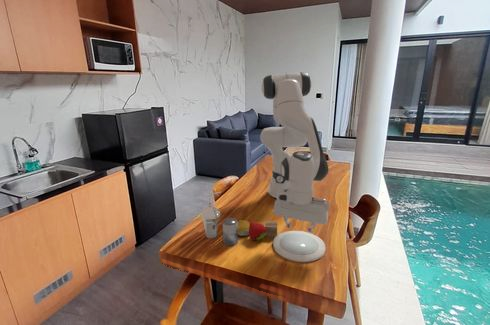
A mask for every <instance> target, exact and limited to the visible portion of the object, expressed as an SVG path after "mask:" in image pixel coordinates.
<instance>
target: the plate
mask: <svg viewBox="0 0 490 325" xmlns="http://www.w3.org/2000/svg"><path fill="white" fill-rule="evenodd" d="M272 241H273V242H272V243H273V244H272V247H273V250H274V251H275V253H276V254H277V255H279V256H280V257H281V258H283V259H286V260H288V261H291V262H297V263H310V262H311V263H312V262H315V261H318V260H319V259H321V258H322V257H323V256H324V255H325V253H326V244H325V242H324V241H323V239H321V238H320V237H319V236H318V235H316V234H313V233H311V232H308V231H303V230H289V231H283V232H280V233H278V234H277V236H276V237H275V238H273V240H272Z"/></svg>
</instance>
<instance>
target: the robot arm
mask: <svg viewBox="0 0 490 325" xmlns="http://www.w3.org/2000/svg"><path fill="white" fill-rule="evenodd" d="M311 88H312V79H311V76H310V74H309V73H307V72H303V71H301V72H286V73H277V74H269V75H266V76H265V77H264V78H263V79H262V81H261V92H262V94H263V97H264V98H266V99H268V100H272V108H273V109H272V117H273V119H274V121H275V122H276V123H277V124H279V125H281V126H270V127H265V128H263V129H262V130H261V131H260V132H261V133H260V136H259V138H260V139H259V140H260V142H261V144H262V145H263V146H264V147H266V148H267V149H268V151H269V153H271V157H272V163H273V164H272V166H273V169H272V173H271V175H272V177H271V178H270V180H269V189H267V191H266V193H267V194H269V196H271V197H273V198H276V200H275V201H274V204H273V214H274V215H275V216H276V217H281V218H283V220H284V223H285V224H286V226H285V227H286V228H288V229H291V227H292V222H290V220H289V219H293V220H297V221H303V222H308V223H311V225H309V226H308V228H307V229H308V230H307V232H308V233H311V234H313V230H314V228H315V226H316V224H318V225H326V224H327V223H328V220H329V213H328V211H330V203H329V201H327V200H326V199H324V198H319V197H318V198H317V197H314V184H313V182H315V181H316V182H317V181H318V182H321V181H322V180H324V179H325V178H326V176H327V175H328V173H329V164H328V160H327V159H326V156H325V153H324V151H323V147H322V143H321V139H320V136H319V132H318V128H317V126H316V123H315V120H314V118H313V117H311V116H310V115H309V114H308V113H307V111H306V109H305V102H304V98H303V97H305V96H308V94H310V91H311ZM306 144H308V148H309V152H305V151H295V152H293V153H292V154H290V153H287V152H286V151H284V149H283V148H300V147H301V148H302V147H304V146H306Z"/></svg>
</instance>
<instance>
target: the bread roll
mask: <svg viewBox="0 0 490 325" xmlns="http://www.w3.org/2000/svg"><path fill="white" fill-rule="evenodd" d="M237 221H238V220H237ZM249 226H250V222H249V221H248V220H239V221H238V236H240V237H242V236H245V237H246V236H249Z"/></svg>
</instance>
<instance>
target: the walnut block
mask: <svg viewBox="0 0 490 325" xmlns="http://www.w3.org/2000/svg"><path fill="white" fill-rule="evenodd" d="M264 224H265V225H264V226H265V228H266V232H265V234H266V233H267V234H266V235H265V236H264V238H266V239H267V238H271V239H274V238H275V237H276V236H277V235H278V221H272V220H270V221H268V220H265V223H264Z"/></svg>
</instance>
